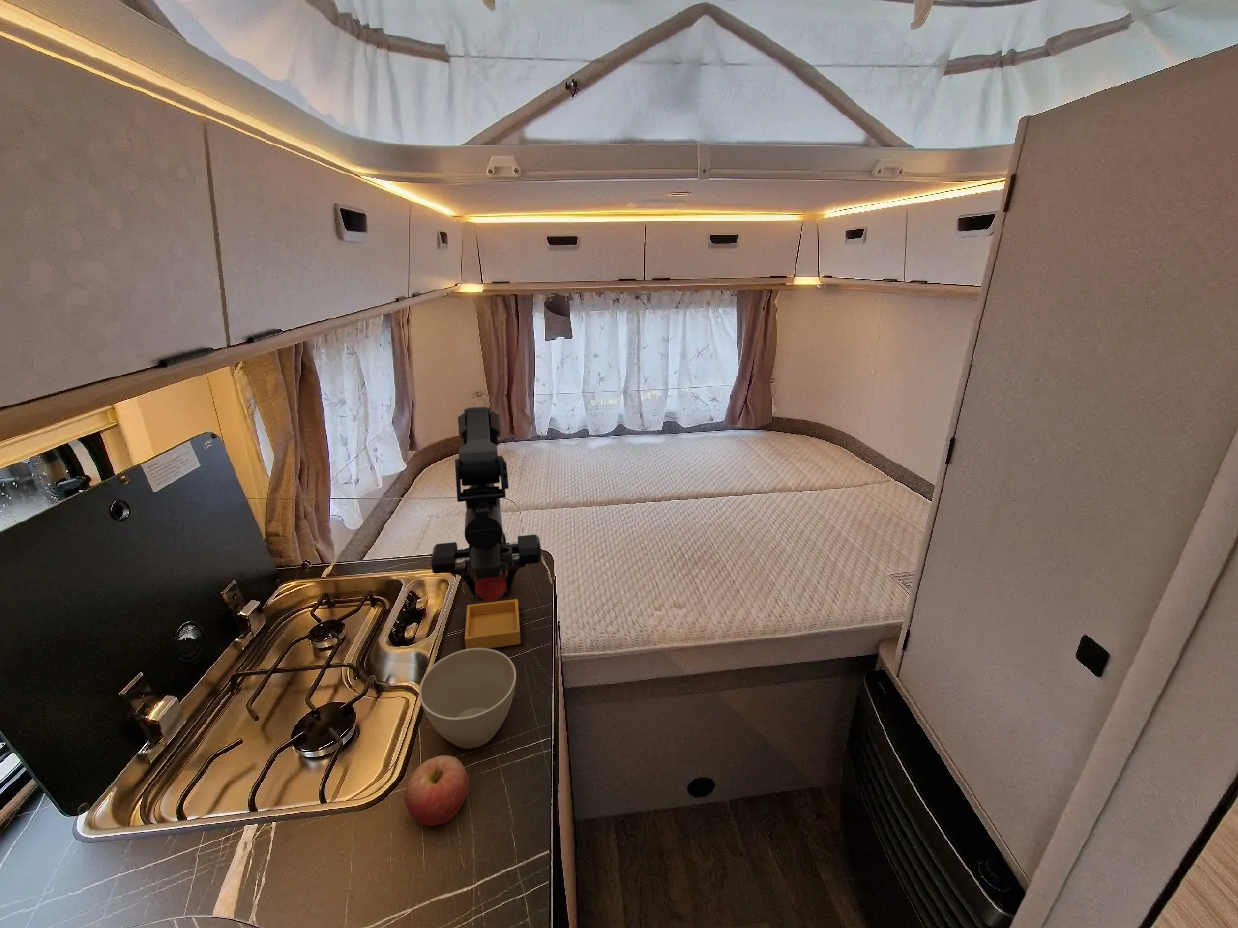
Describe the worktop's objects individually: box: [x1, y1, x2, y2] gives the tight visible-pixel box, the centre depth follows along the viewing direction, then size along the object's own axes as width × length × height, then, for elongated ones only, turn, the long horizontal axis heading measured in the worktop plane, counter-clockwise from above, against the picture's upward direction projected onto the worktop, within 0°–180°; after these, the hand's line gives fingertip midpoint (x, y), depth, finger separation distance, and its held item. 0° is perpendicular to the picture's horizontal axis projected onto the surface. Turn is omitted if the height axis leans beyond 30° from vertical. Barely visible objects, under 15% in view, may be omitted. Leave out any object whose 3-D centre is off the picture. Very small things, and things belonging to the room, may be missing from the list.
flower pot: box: [418, 648, 517, 750], centre depth 80 cm, size 14×14×10 cm
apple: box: [404, 754, 470, 826], centre depth 69 cm, size 8×8×8 cm
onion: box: [474, 573, 507, 603], centre depth 95 cm, size 6×6×8 cm
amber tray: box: [464, 598, 522, 649], centre depth 103 cm, size 10×10×3 cm
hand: (491, 591), depth 96 cm, fingers closed on onion, 6 cm apart
